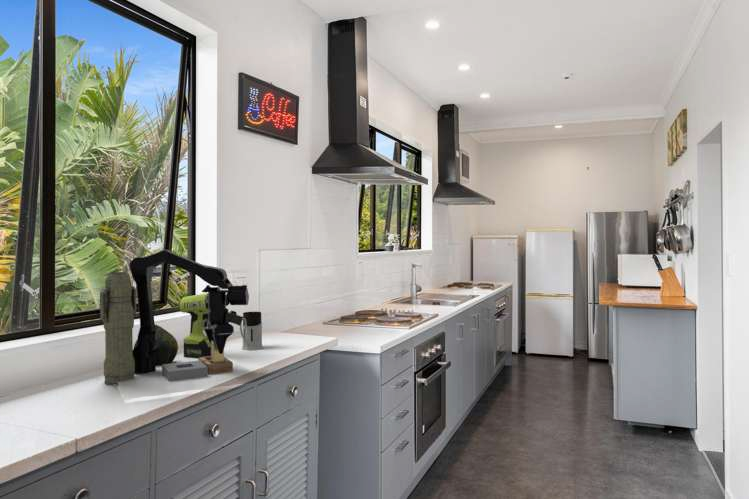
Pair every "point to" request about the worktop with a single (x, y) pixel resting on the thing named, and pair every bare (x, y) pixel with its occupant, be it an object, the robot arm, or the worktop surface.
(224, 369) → the walnut rack
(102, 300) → the olive carved statue
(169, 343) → the squash
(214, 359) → the block
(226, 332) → the robot arm
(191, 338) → the cordless drill
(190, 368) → the socket block
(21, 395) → the worktop surface
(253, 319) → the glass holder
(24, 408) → the worktop surface
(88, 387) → the worktop surface
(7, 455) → the worktop surface
